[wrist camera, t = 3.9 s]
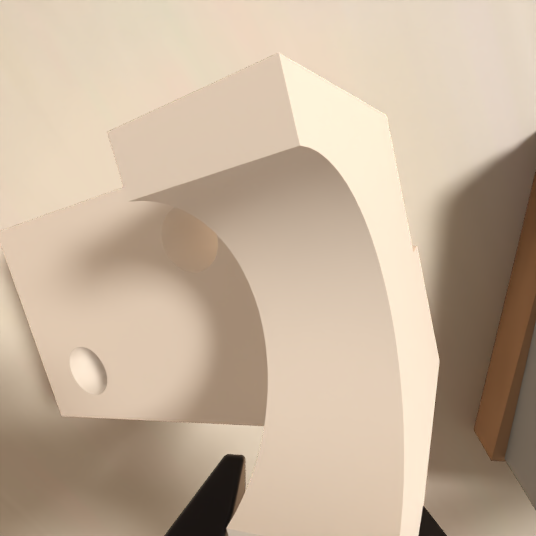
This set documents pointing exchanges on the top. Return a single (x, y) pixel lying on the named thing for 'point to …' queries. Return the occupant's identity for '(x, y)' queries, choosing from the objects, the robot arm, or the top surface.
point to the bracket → (251, 297)
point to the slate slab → (525, 429)
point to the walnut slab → (510, 344)
